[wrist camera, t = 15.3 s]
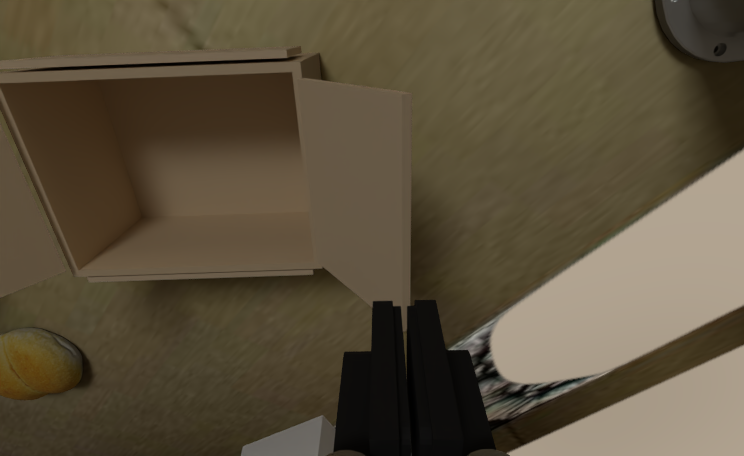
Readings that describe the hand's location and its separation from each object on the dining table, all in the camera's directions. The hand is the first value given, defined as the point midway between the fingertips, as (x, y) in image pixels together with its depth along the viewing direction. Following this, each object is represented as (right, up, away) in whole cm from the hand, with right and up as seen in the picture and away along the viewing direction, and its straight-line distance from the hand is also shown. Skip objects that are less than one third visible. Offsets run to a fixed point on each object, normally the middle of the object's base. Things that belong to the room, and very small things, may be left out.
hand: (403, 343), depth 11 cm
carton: (-13, +10, +22) cm, 27 cm away
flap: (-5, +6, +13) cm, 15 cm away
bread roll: (-36, -10, +32) cm, 49 cm away
